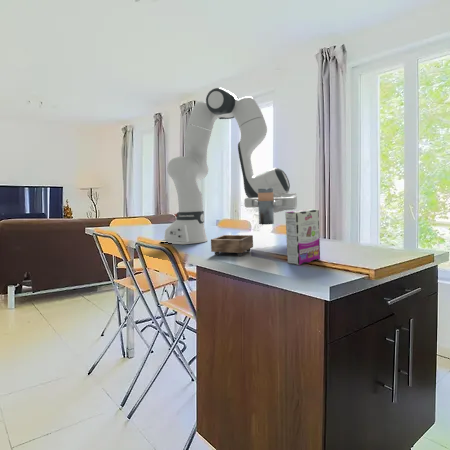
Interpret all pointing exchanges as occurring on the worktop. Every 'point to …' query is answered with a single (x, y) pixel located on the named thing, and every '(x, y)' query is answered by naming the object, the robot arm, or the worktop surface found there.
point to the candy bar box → (302, 236)
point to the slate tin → (265, 206)
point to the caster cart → (232, 244)
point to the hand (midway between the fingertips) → (265, 203)
